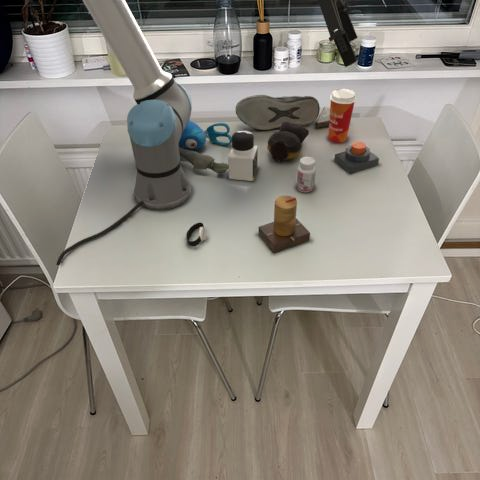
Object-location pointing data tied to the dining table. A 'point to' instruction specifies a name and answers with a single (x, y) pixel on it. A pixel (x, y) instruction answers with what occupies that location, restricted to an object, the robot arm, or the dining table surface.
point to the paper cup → (340, 114)
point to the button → (358, 148)
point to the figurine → (287, 141)
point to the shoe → (277, 111)
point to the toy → (192, 136)
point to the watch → (201, 234)
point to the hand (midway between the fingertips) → (351, 51)
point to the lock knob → (285, 215)
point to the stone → (323, 118)
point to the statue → (202, 161)
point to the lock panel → (283, 237)
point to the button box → (356, 160)
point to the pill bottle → (306, 174)
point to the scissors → (217, 134)
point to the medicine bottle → (243, 157)
